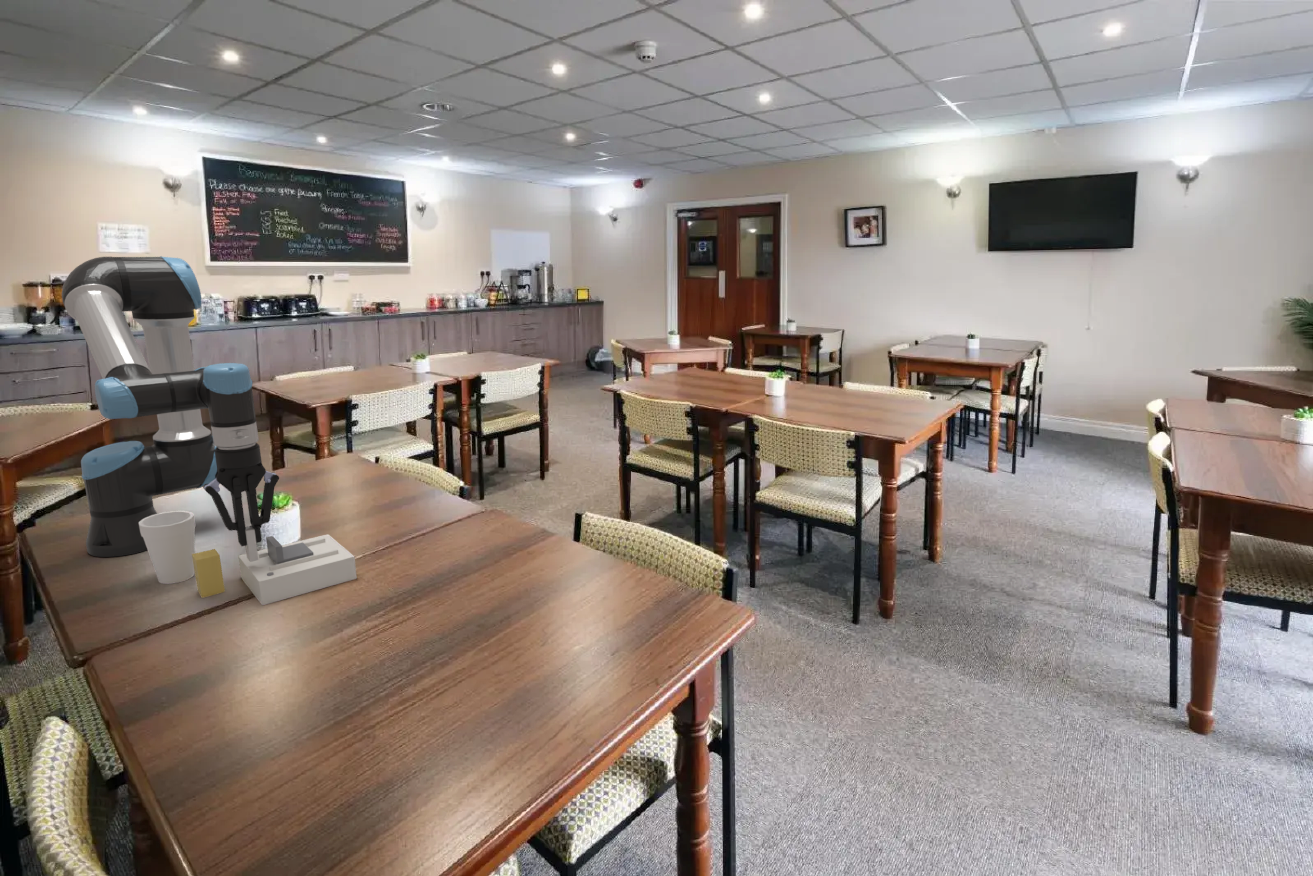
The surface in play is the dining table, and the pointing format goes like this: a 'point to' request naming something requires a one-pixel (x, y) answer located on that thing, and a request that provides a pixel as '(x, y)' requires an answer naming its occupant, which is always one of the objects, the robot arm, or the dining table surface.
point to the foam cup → (170, 544)
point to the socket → (298, 570)
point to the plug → (208, 573)
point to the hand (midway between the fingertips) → (252, 558)
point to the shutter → (286, 551)
